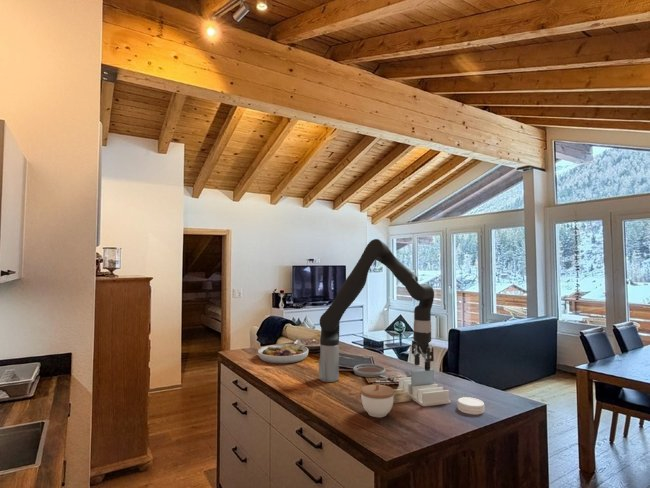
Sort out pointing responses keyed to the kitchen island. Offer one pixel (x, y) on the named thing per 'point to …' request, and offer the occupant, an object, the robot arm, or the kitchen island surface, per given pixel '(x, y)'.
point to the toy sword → (371, 371)
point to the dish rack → (425, 393)
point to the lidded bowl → (377, 399)
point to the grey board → (421, 377)
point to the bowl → (283, 353)
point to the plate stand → (400, 396)
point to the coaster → (470, 405)
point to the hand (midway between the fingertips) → (422, 367)
